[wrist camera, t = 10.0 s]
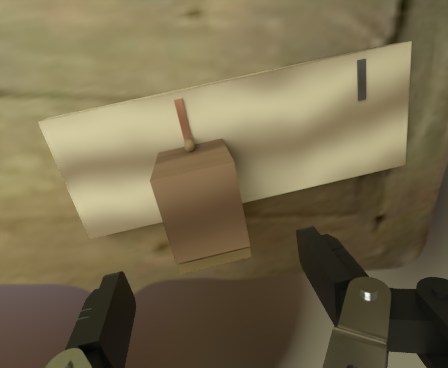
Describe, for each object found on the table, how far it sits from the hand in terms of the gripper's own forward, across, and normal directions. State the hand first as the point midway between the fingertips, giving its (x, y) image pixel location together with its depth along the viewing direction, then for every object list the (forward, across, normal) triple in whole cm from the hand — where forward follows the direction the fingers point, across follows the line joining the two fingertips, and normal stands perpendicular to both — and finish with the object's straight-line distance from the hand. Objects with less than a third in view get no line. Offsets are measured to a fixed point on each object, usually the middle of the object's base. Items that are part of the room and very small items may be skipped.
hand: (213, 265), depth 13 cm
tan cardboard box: (+12, 0, +1) cm, 13 cm away
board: (+14, -4, -2) cm, 14 cm away
